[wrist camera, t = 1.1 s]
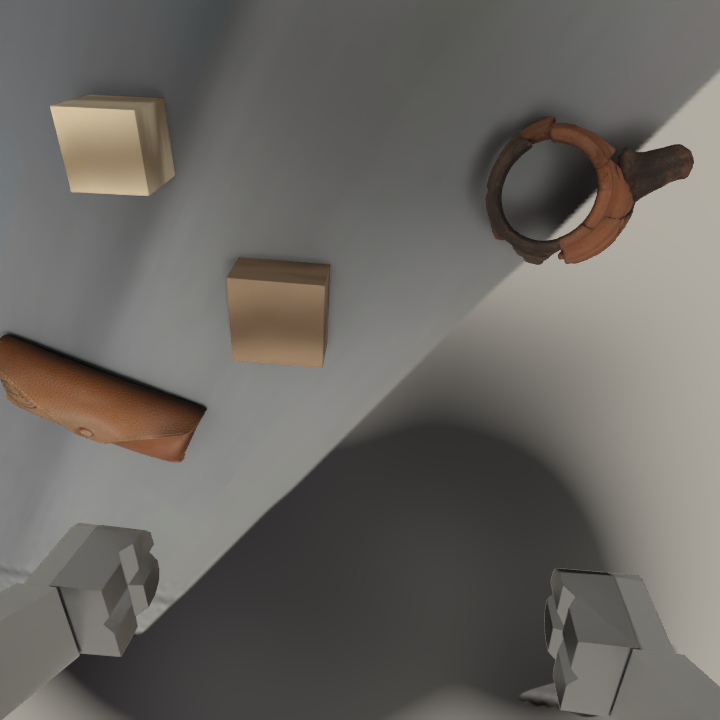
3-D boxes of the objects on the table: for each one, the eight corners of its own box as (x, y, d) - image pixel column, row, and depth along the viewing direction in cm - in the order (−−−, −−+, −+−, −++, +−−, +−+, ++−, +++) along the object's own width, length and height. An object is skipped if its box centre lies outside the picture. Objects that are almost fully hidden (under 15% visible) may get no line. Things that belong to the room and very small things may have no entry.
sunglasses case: (-1, 401, 51) (-41, 414, 44) (27, 331, 51) (-9, 334, 44) (186, 465, 54) (175, 486, 48) (213, 400, 54) (205, 412, 48)
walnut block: (239, 256, 42) (226, 277, 39) (330, 263, 42) (324, 285, 39) (244, 334, 46) (232, 360, 43) (327, 341, 46) (322, 367, 42)
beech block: (89, 94, 36) (49, 106, 32) (164, 98, 36) (134, 110, 32) (106, 171, 39) (71, 191, 35) (175, 175, 39) (149, 196, 35)
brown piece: (529, 278, 42) (502, 291, 35) (488, 161, 42) (452, 150, 35) (707, 214, 36) (717, 215, 29) (662, 75, 35) (661, 41, 28)
